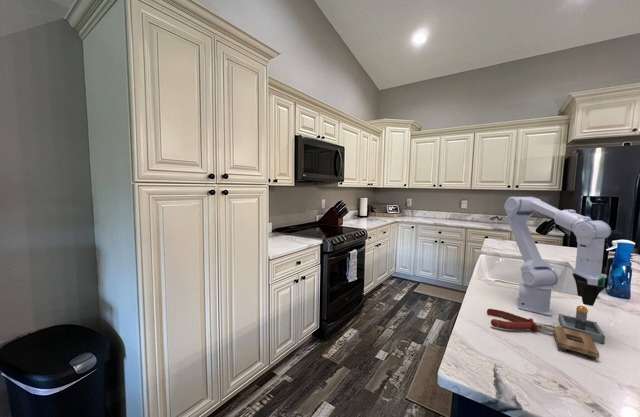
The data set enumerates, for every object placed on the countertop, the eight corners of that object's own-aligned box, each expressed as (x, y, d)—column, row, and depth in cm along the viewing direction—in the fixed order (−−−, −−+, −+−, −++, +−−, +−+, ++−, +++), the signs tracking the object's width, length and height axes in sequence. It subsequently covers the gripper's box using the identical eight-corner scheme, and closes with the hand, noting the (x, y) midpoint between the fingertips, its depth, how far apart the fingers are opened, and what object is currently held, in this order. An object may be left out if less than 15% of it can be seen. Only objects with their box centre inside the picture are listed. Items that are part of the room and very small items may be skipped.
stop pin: (575, 330, 82) (577, 306, 82) (573, 326, 84) (575, 303, 84) (586, 333, 81) (589, 308, 80) (584, 329, 83) (587, 305, 82)
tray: (562, 333, 81) (563, 326, 81) (558, 320, 89) (559, 313, 89) (604, 344, 76) (605, 336, 76) (595, 329, 84) (596, 322, 84)
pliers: (572, 344, 75) (573, 336, 75) (490, 327, 84) (491, 319, 84) (557, 327, 85) (558, 319, 85) (486, 313, 94) (486, 306, 94)
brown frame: (557, 350, 73) (558, 342, 73) (552, 333, 82) (553, 325, 81) (598, 362, 68) (599, 353, 68) (588, 342, 77) (589, 334, 77)
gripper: (615, 266, 73) (610, 313, 74) (601, 256, 84) (597, 296, 85) (580, 262, 77) (575, 306, 78) (571, 252, 88) (568, 291, 89)
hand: (585, 300), depth 82 cm, fingers open, 7 cm apart
